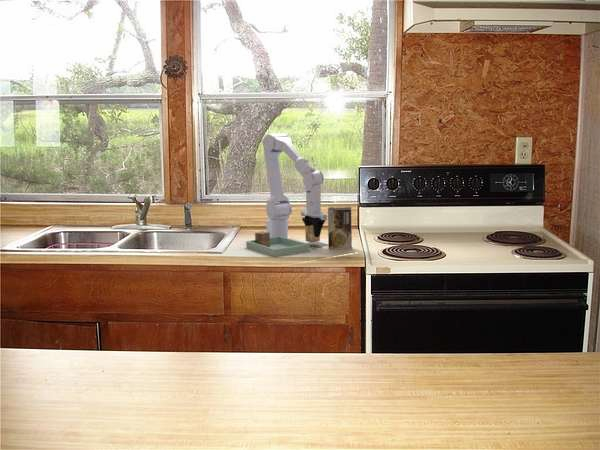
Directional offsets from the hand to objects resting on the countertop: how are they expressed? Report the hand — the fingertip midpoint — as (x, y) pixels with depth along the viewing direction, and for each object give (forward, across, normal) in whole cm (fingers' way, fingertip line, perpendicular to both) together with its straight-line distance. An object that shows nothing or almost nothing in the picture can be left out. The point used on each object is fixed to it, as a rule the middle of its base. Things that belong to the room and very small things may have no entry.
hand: (313, 235), depth 256 cm
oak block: (+2, 0, 0) cm, 2 cm away
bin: (+4, -2, -16) cm, 17 cm away
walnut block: (+4, -8, -19) cm, 21 cm away
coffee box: (+4, +10, +5) cm, 12 cm away
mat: (+4, 0, 0) cm, 4 cm away
